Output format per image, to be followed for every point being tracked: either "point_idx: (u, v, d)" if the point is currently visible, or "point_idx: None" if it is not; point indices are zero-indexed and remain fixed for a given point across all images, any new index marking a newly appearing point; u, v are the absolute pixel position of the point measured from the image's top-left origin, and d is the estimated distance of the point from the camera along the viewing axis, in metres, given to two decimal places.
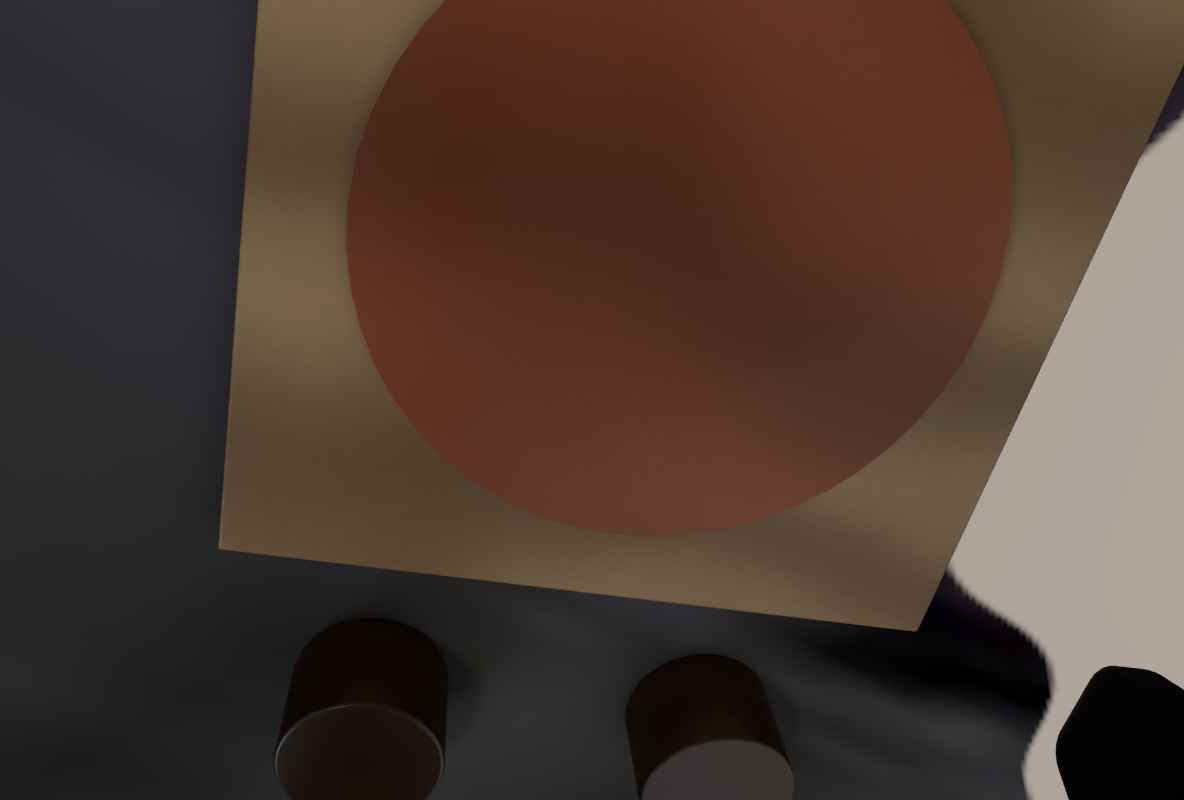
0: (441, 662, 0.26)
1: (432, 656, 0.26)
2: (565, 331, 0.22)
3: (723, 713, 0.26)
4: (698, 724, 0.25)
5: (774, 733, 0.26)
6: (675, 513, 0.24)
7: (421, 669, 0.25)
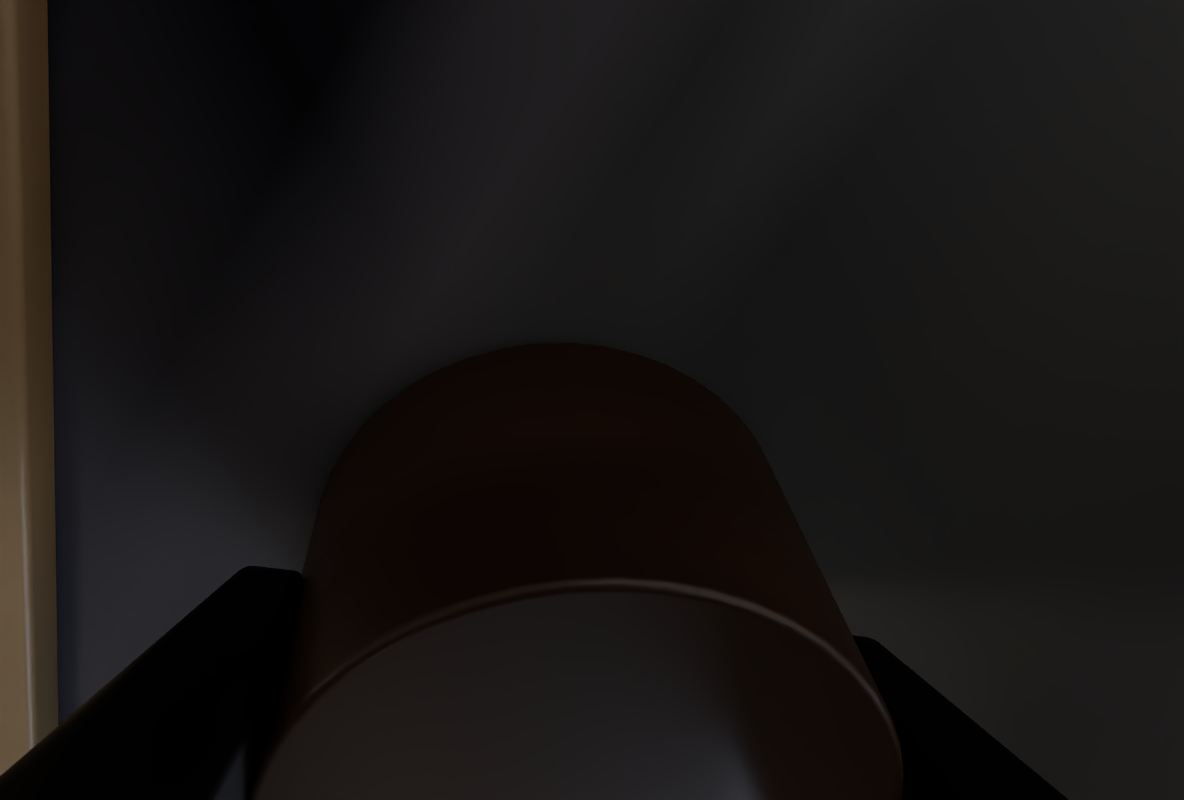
0: None
1: None
2: None
3: None
4: None
5: (360, 577, 0.06)
6: None
7: None
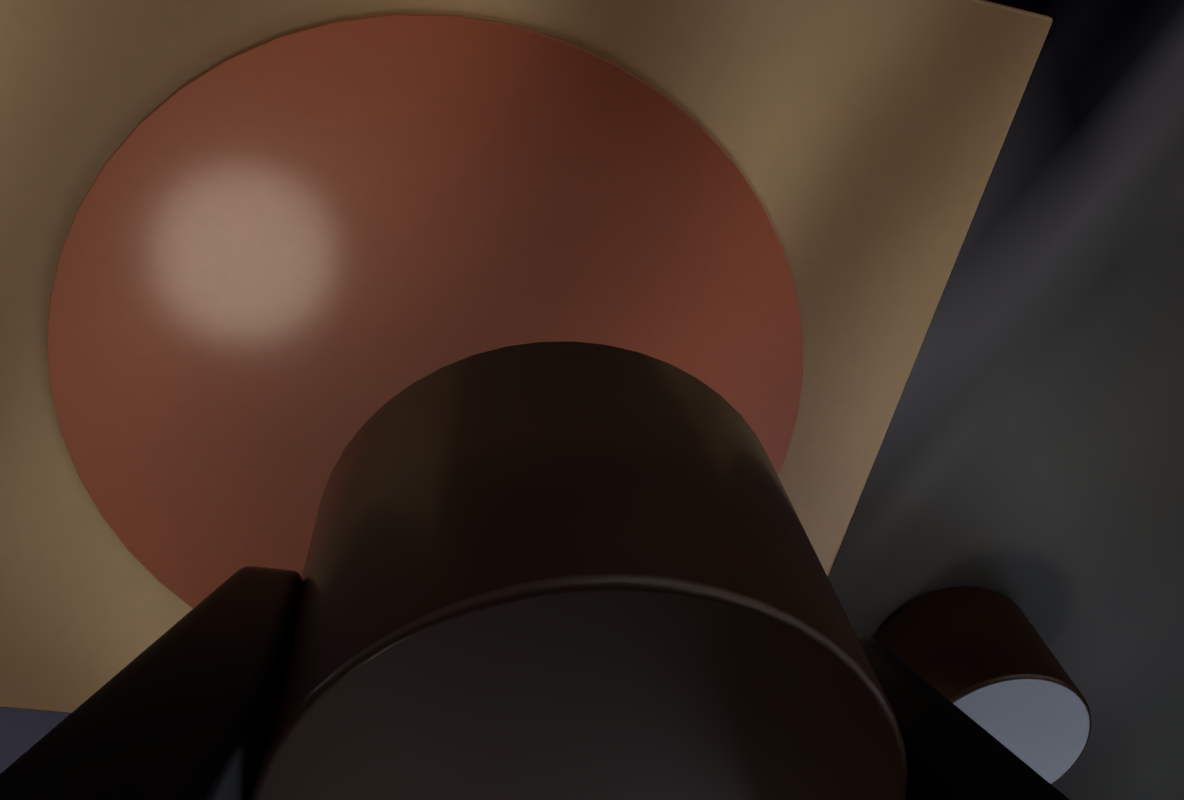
0: (938, 599, 0.23)
1: (924, 613, 0.23)
2: None
3: None
4: None
5: (361, 575, 0.06)
6: (768, 390, 0.20)
7: (923, 642, 0.23)
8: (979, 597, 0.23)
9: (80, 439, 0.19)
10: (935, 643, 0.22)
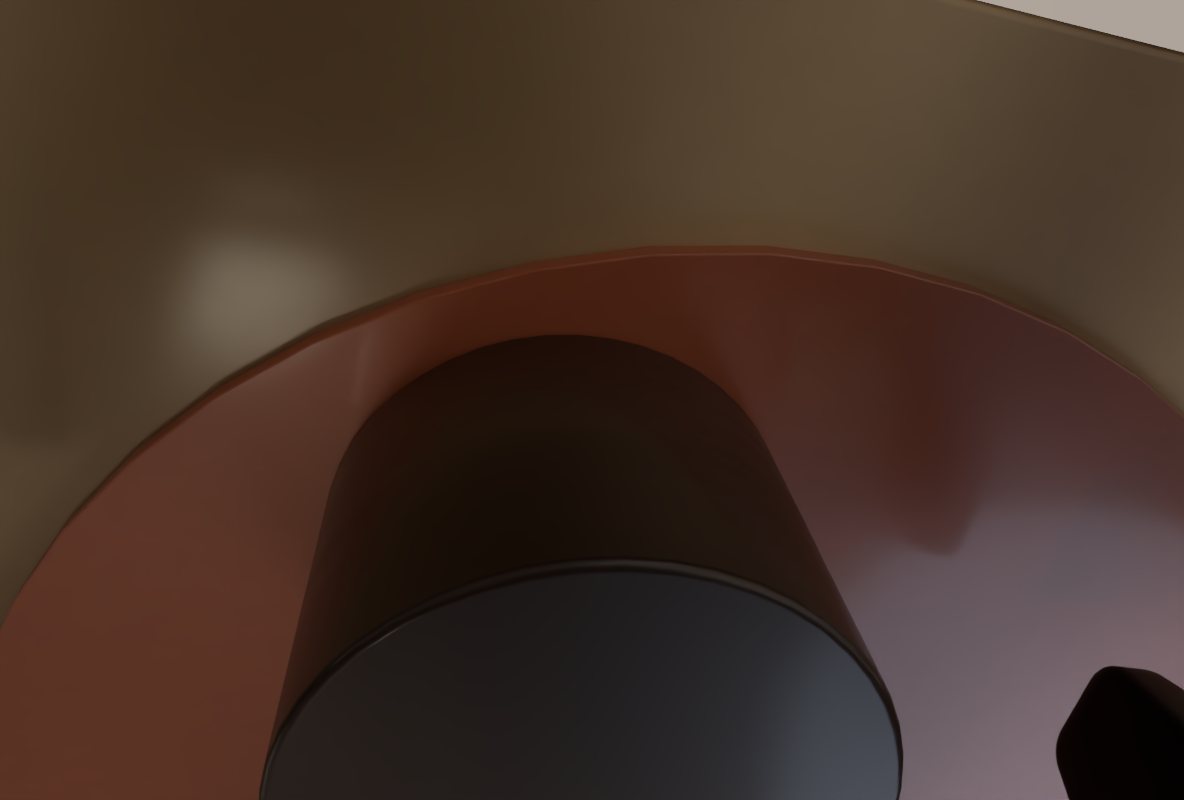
0: None
1: None
2: None
3: None
4: None
5: (371, 560, 0.06)
6: None
7: None
8: None
9: None
10: None
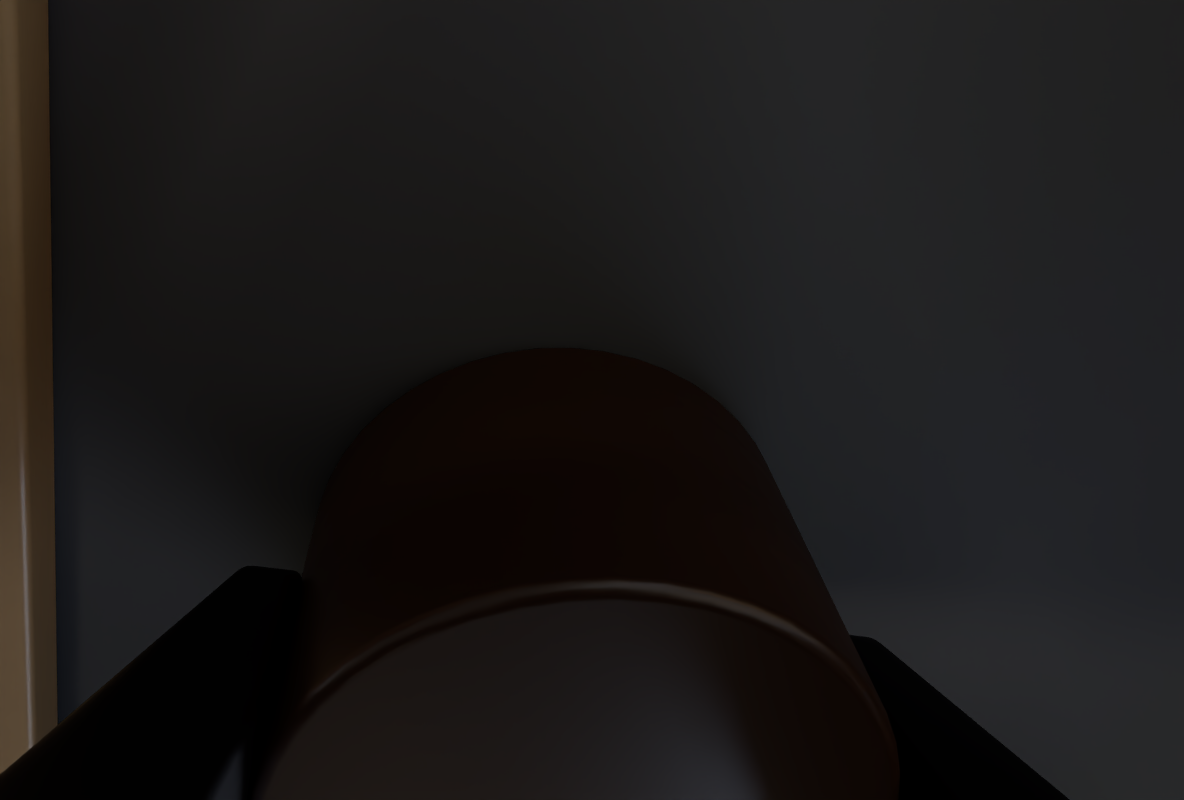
0: (462, 378, 0.08)
1: (408, 416, 0.07)
2: None
3: None
4: None
5: None
6: None
7: (368, 498, 0.07)
8: (586, 369, 0.07)
9: None
10: (387, 495, 0.07)
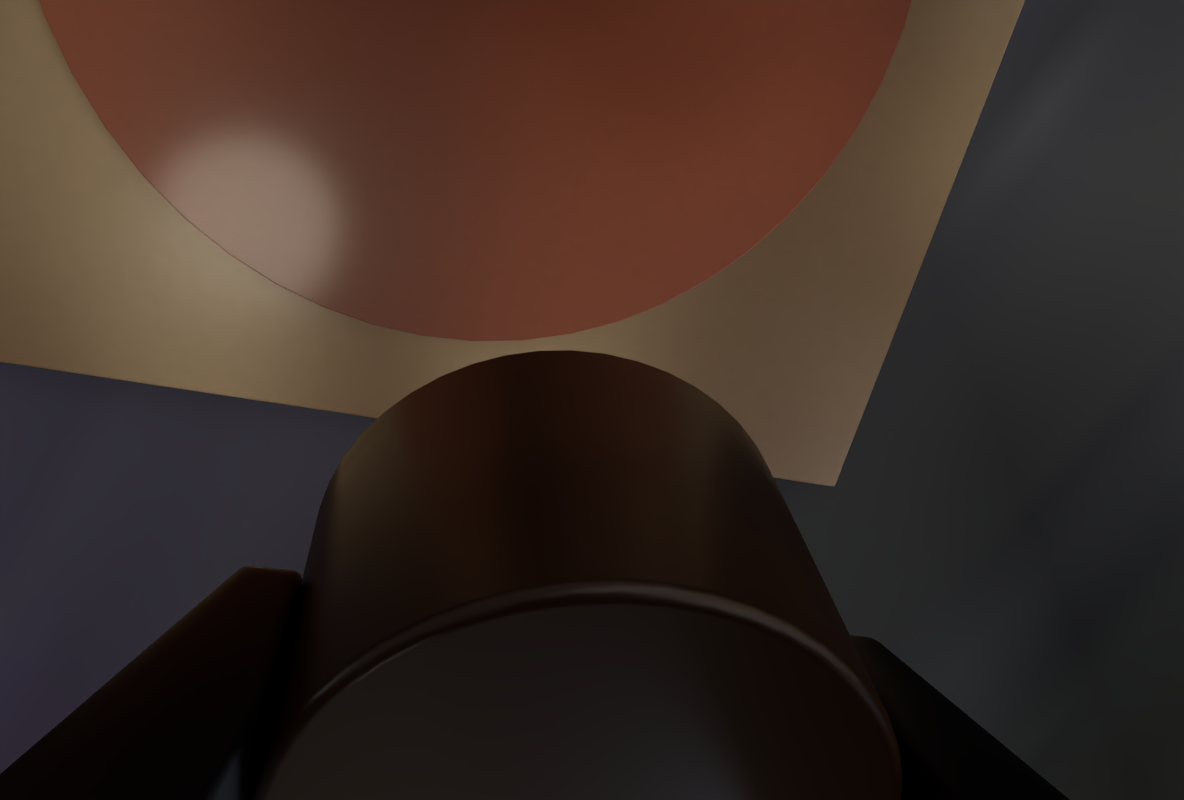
0: (463, 381, 0.07)
1: (410, 419, 0.07)
2: (584, 97, 0.17)
3: None
4: None
5: None
6: None
7: (368, 501, 0.07)
8: (587, 371, 0.07)
9: None
10: (388, 498, 0.07)
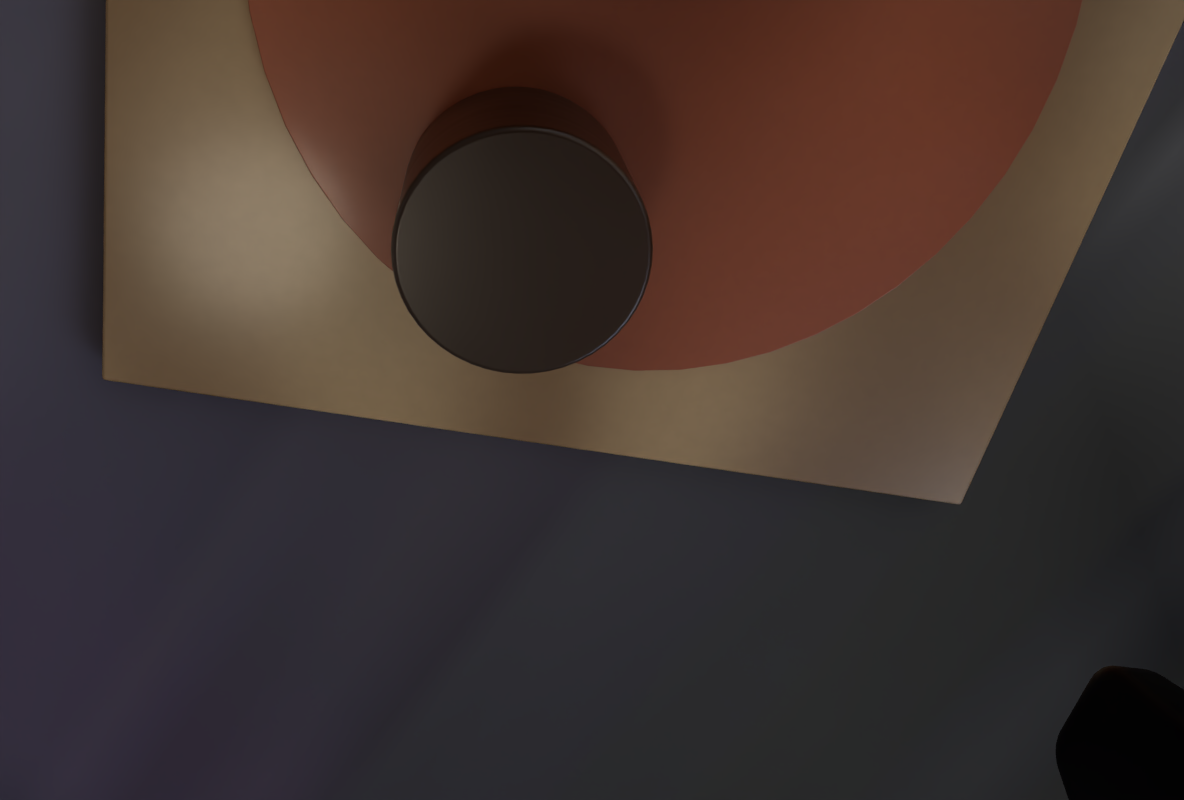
0: (474, 96, 0.17)
1: (451, 111, 0.17)
2: (756, 144, 0.18)
3: None
4: None
5: None
6: None
7: None
8: (530, 91, 0.17)
9: (270, 17, 0.16)
10: (444, 129, 0.16)
